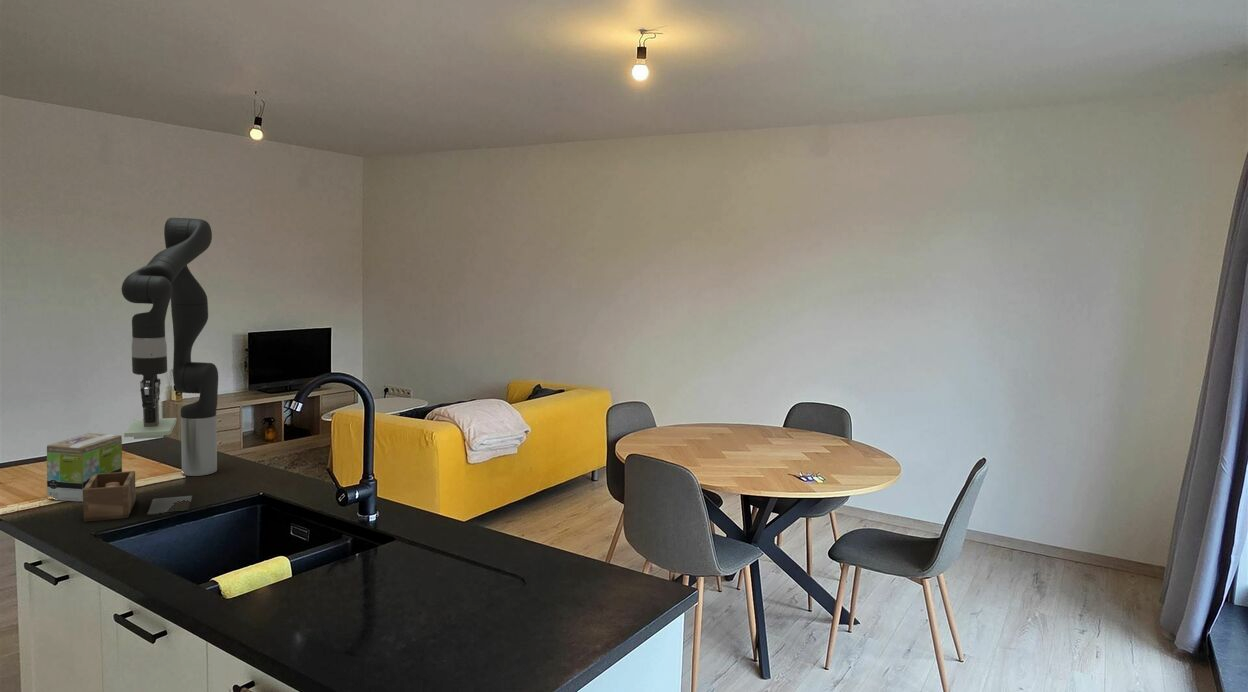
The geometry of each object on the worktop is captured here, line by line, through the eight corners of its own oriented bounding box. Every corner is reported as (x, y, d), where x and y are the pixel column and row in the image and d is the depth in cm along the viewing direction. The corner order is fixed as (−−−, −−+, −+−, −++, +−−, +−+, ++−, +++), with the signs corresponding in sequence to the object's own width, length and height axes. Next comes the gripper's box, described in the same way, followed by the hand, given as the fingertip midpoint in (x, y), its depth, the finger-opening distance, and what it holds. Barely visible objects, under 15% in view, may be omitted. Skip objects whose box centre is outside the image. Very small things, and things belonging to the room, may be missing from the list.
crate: (94, 503, 193) (93, 473, 192) (135, 500, 197) (134, 470, 196) (83, 521, 181) (82, 490, 180) (128, 517, 185) (127, 486, 184)
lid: (134, 427, 196) (133, 397, 195) (176, 425, 200) (176, 395, 199) (124, 441, 183) (123, 409, 182) (169, 438, 187) (169, 407, 186)
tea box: (84, 502, 194) (82, 447, 192) (46, 500, 194) (43, 445, 192) (124, 485, 209) (122, 433, 207) (88, 483, 209) (86, 431, 207)
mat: (153, 500, 198) (153, 498, 198) (192, 496, 202) (192, 495, 202) (147, 514, 188) (147, 513, 188) (188, 510, 192) (188, 509, 192)
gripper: (163, 358, 184) (165, 426, 186) (170, 350, 196) (172, 414, 199) (126, 359, 181) (129, 428, 183) (136, 350, 193) (138, 415, 195)
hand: (151, 420), depth 191 cm, fingers closed on lid, 3 cm apart
